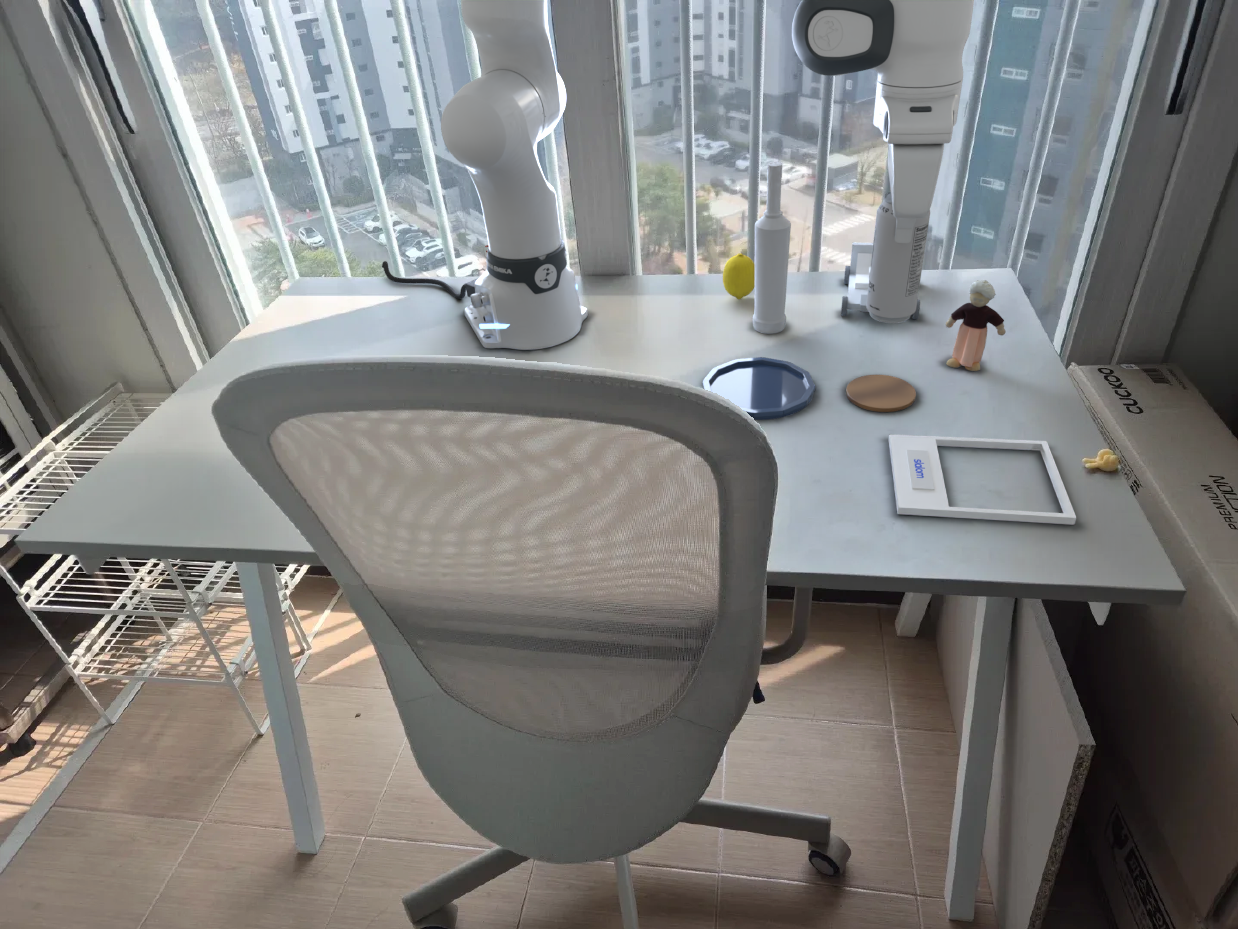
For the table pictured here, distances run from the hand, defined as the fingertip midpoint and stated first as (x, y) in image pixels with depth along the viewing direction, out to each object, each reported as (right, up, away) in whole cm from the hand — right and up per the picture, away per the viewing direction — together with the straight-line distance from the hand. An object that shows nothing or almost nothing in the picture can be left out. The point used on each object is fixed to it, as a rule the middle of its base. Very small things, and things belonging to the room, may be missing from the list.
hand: (900, 229), depth 102 cm
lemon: (-14, -1, +41) cm, 43 cm away
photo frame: (+7, -30, -4) cm, 31 cm away
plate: (-14, -18, +16) cm, 28 cm away
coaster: (+2, -19, +13) cm, 23 cm away
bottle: (-10, -7, +32) cm, 34 cm away
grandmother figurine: (+15, -14, +18) cm, 28 cm away
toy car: (+8, -2, +36) cm, 37 cm away
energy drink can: (+1, -9, +6) cm, 11 cm away
